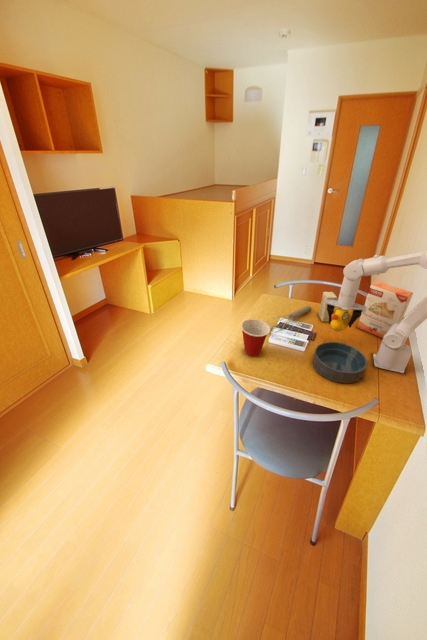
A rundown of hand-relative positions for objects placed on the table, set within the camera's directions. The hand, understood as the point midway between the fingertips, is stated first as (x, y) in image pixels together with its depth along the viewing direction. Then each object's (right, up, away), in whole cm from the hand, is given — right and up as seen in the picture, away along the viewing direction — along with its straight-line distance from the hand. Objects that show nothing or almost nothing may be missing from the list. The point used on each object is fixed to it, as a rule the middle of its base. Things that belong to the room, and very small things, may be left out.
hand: (339, 324), depth 113 cm
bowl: (-4, -15, -8) cm, 18 cm away
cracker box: (+20, -4, +11) cm, 23 cm away
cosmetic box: (+2, +2, +21) cm, 21 cm away
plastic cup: (-34, -11, -1) cm, 36 cm away
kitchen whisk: (-15, +1, +18) cm, 24 cm away
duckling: (0, -2, +1) cm, 3 cm away
